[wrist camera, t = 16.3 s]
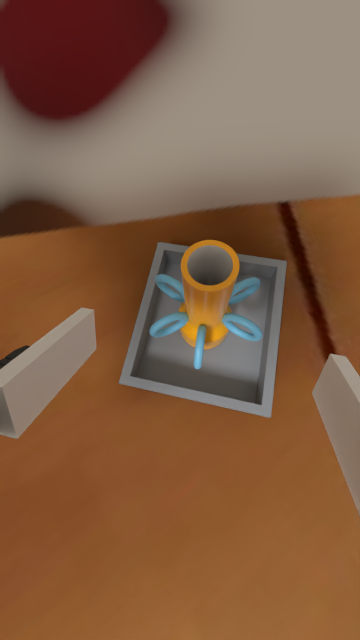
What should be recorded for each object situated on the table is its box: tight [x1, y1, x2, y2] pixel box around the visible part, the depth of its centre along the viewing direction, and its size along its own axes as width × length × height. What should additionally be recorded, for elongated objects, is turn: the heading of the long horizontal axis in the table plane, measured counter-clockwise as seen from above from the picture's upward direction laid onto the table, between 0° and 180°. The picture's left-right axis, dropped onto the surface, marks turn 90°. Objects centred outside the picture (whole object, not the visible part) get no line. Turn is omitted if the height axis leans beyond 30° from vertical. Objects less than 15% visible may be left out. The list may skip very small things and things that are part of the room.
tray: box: [119, 242, 287, 418], centre depth 31 cm, size 16×18×4 cm
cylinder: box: [149, 240, 263, 369], centre depth 24 cm, size 12×10×15 cm
